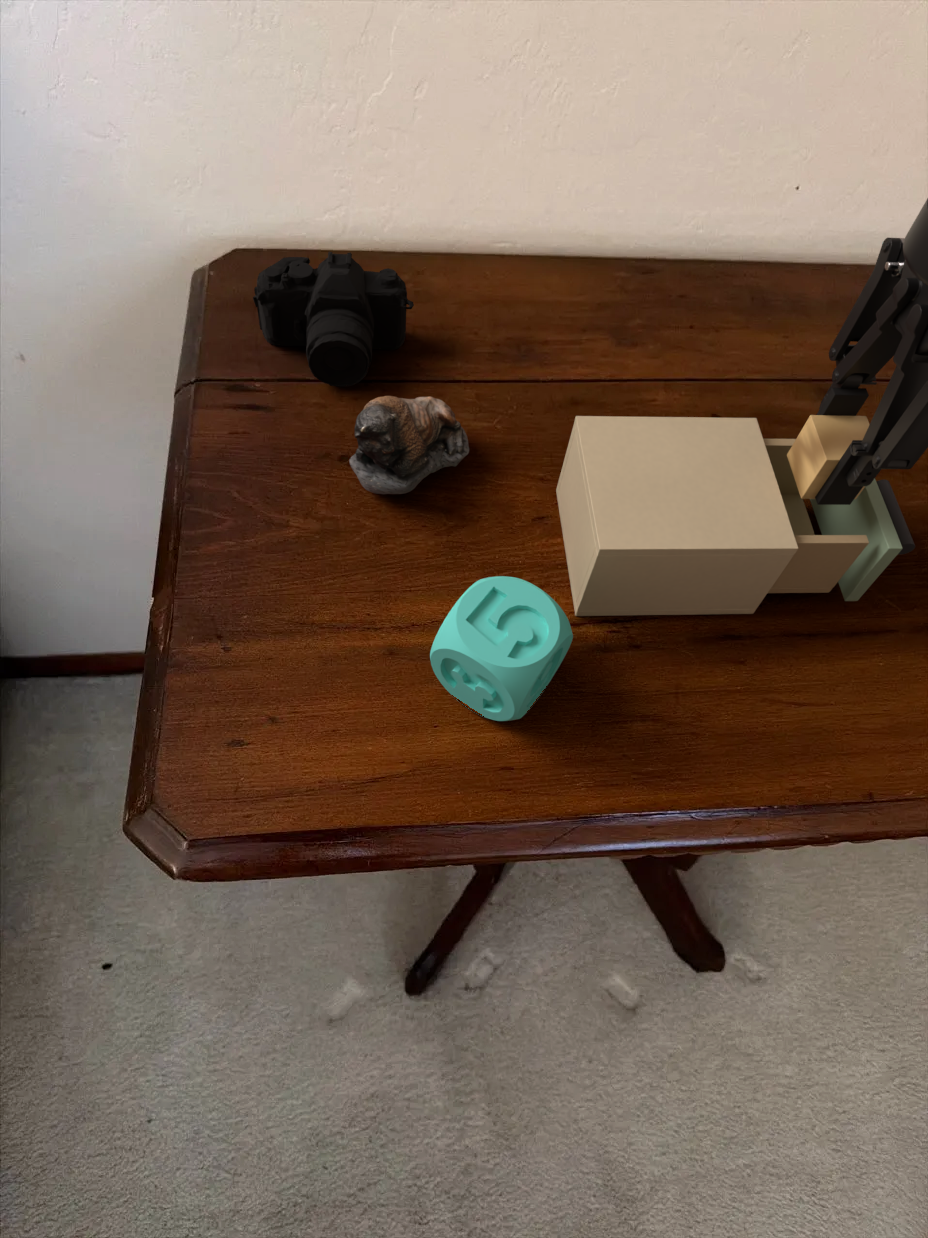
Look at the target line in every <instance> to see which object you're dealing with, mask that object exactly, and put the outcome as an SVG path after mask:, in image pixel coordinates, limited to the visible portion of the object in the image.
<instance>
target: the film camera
mask: <svg viewBox="0 0 928 1238" xmlns="http://www.w3.org/2000/svg"><path fill="white" fill-rule="evenodd" d="M352 256H353V254H352V252H347V253H333V252H332V251H328V252H327V257H326V258H325V259H324V260H323V261H321V262H320V263H319V264H318V265H317V267H316V268H313V266H312V265H310V263H311V260H310V257H307V256H287V257H286V256H285V257H282V258H281V259H279V260H278V261H277V262H275V263H273V264H272V265H270V266H268V267H266V268H265V269H263V270H261V271H260V272H259V273H258V276H257V279H256V286H255V287H254V288H253V292H254V296H253V297H252V300H253V303H254V305H255V308H256V309H257V318H258V325H259V329H260V330H261V332H262V336H263V337H264V339H265V340H266V342H267V343H268V344H269V345H273V346H283V347H305V348H306V349H305V356H306V359H307V362H308V368H309V370H310V372H311V374H312V375H313V377H314V378H316V379H317V380H318V381H320V382H321V383H324V384H325V385H329V386H331V387H339V388H346V387H351V386H354V385H357V384H359V383H360V382H361V381H363V379H364V378H365V377H366V376H367V375H368V372H369V369H370V366H371V364H372V361H373V350H382V351H383V350H387V351H395V350H398V349H400V348H401V347H402V346H403V345H404V343H405V340H406V330H407V310H412V309H413V308H414V305H415V304H414V301H413V300H412V301H411V300H409V299H408V291H407V286H406V285H407V284H406V282H405V281H404V280H403V279H402V278H401V277H400V275H399V274H398V272H397V271H396V270H394V269H393V268H389V267H388V268H383V269H381V270H379V271H372V270H364V268H363V267H362V266H361V265H360V264H359V263H358V262H357V261H356V260H355V259H354V258H353V257H352ZM407 305H408V306H407Z"/></svg>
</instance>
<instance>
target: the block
mask: <svg viewBox="0 0 928 1238" xmlns="http://www.w3.org/2000/svg"><path fill="white" fill-rule="evenodd" d="M869 425H870V422H869V419H868V417H867V416H866V415H856V416H835V415H816V414H810V415H809V417H808V418H807V420H806V422H805V423H804V425H803V427H802V428H801V430H800V431H799V433H798V435H797V437H796V438H795V439H796V440H795V442H794V444H793V445H792V447H791V449H790V450H789V452H788V454H787V457H788V460H789V463H790V466H791V469H792V472H793V475H794V478H795V481H796V484H797V488H798V491H799V494H800V497H801V499H803V500H810V499H815V497H816V495H817V494H818V492H819V491H820V489H821V488H822V486H823V485H824V483H825V482H826V480H827V479H828V477H829V476H830V474H831V473H832V471H833V470H834V468H835V467H836V465H837V464H838V462H839V461H840V459H841V457H842V456H843V454H844V453H845V451H846V450H847V448H848V447H849V445H850V444H851V442H852V441H853V440H863V438H864V436H865V434H866V431H867V429H868V427H869ZM864 488H865V486H863V488H862V489H861V490H860V492H859V493H858V495H857V496H856V497H855V499H856V498H857V497H858V496H859V494H860V493H861V492H862V490H863V489H864Z"/></svg>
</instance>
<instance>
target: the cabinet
mask: <svg viewBox="0 0 928 1238" xmlns="http://www.w3.org/2000/svg"><path fill="white" fill-rule="evenodd" d="M573 421H574V422H573V426H572V429H571V433H570V436H569V440H568V444H567V447H566V451H565V456H564V459H563V463H562V467H561V470H560V471H561V472H560V474H559V478H558V481H557V484H556V485H557V486H556V489H555V492H556V500H557V506H558V513H559V518H560V526H561V533H562V539H563V545H564V552H565V558H566V565H567V571H568V578H569V585H570V590H571V596H572V597H571V598H572V604H573V610H574V616H575V617H602V616H603V617H604V616H605V617H607V616H609V617H610V616H611V617H612V616H613V617H614V616H616V617H617V616H681V615H682V616H684V615H685V616H686V615H692V616H693V615H694V616H695V615H696V616H697V615H753V614H754V613H755V612H756V610H757V609H758V608H759V606H760V605H761V603H762V602H763V600H764V599H765V598H766V596H767V594H769V593H768V592H769V590H770V589H771V587H772V586H773V584H774V583H775V581H776V580H777V579H778V577H779V576H780V574H781V573H782V571H783V570H784V568H785V567H786V566H787V564H788V563H789V561H790V560H791V558H792V557H793V555H794V554H795V553H796V551H797V550H798V545H797V542H796V539H795V536H794V533H793V530H792V527H791V524H790V521H789V518H788V514H787V511H786V508H785V505H784V502H783V499H782V496H781V493H780V490H779V486H778V483H777V480H776V477H775V474H774V471H773V468H772V465H771V462H770V459H769V455H768V452H767V449H766V446H765V443H764V440H763V439H764V437H763V434H762V430H761V428H760V424H759V421H758V418H757V417H710V416H709V417H706V416H705V417H701V416H699V417H698V416H695V417H694V416H689V417H688V416H624V415H623V416H618V415H616V416H613V415H612V416H611V415H609V416H608V415H607V416H606V415H575V418H574V420H573Z"/></svg>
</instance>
